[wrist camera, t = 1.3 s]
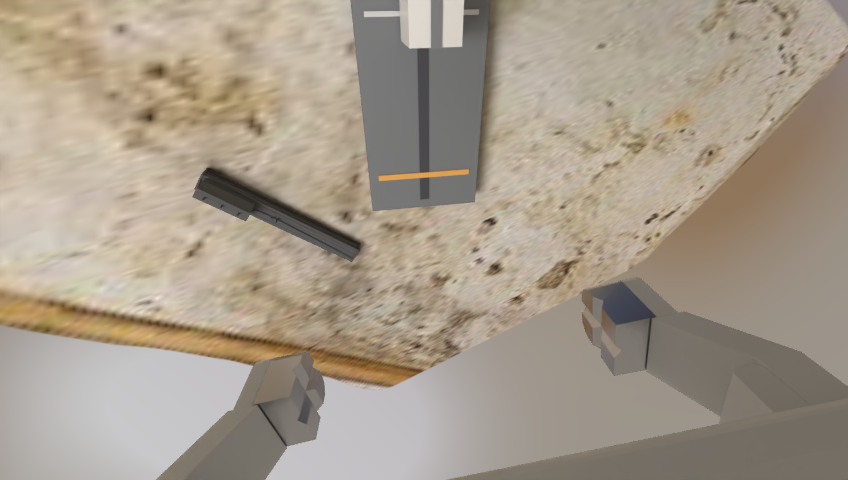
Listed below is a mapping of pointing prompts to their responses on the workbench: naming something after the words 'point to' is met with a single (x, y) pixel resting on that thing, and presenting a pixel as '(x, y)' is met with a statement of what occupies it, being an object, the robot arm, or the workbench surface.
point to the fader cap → (431, 23)
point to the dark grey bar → (269, 213)
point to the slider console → (420, 108)
